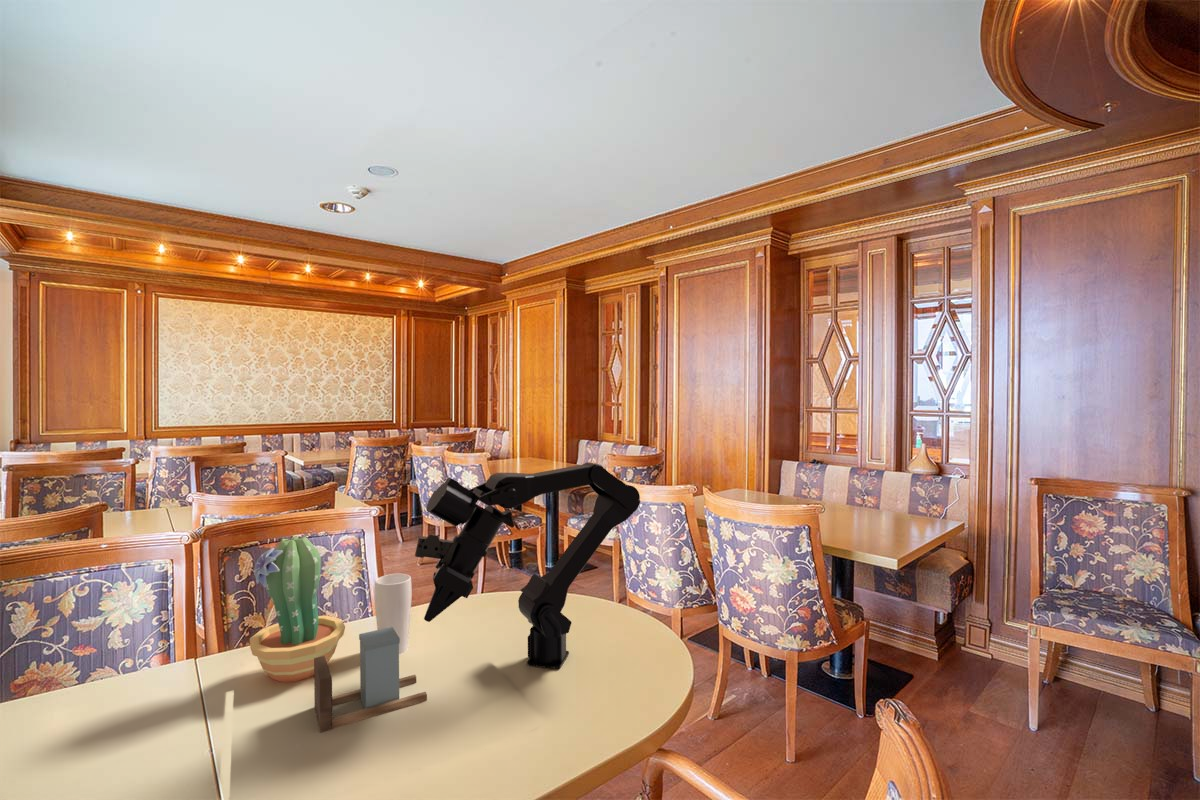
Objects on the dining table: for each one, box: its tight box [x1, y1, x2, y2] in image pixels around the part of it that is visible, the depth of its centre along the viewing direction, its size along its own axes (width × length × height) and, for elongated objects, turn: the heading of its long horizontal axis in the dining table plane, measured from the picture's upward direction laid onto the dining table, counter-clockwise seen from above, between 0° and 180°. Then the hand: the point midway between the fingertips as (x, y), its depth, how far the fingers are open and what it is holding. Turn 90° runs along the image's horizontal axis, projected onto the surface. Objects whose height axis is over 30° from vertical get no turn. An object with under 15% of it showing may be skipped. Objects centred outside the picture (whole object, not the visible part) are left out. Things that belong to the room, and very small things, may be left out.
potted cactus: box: [249, 535, 346, 683], centre depth 101 cm, size 15×15×25 cm
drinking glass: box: [374, 573, 413, 655], centre depth 109 cm, size 7×7×15 cm
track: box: [313, 656, 428, 734], centre depth 90 cm, size 16×8×9 cm, turn 122°
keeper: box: [358, 627, 400, 709], centre depth 91 cm, size 5×5×11 cm
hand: (426, 620), depth 96 cm, fingers closed
